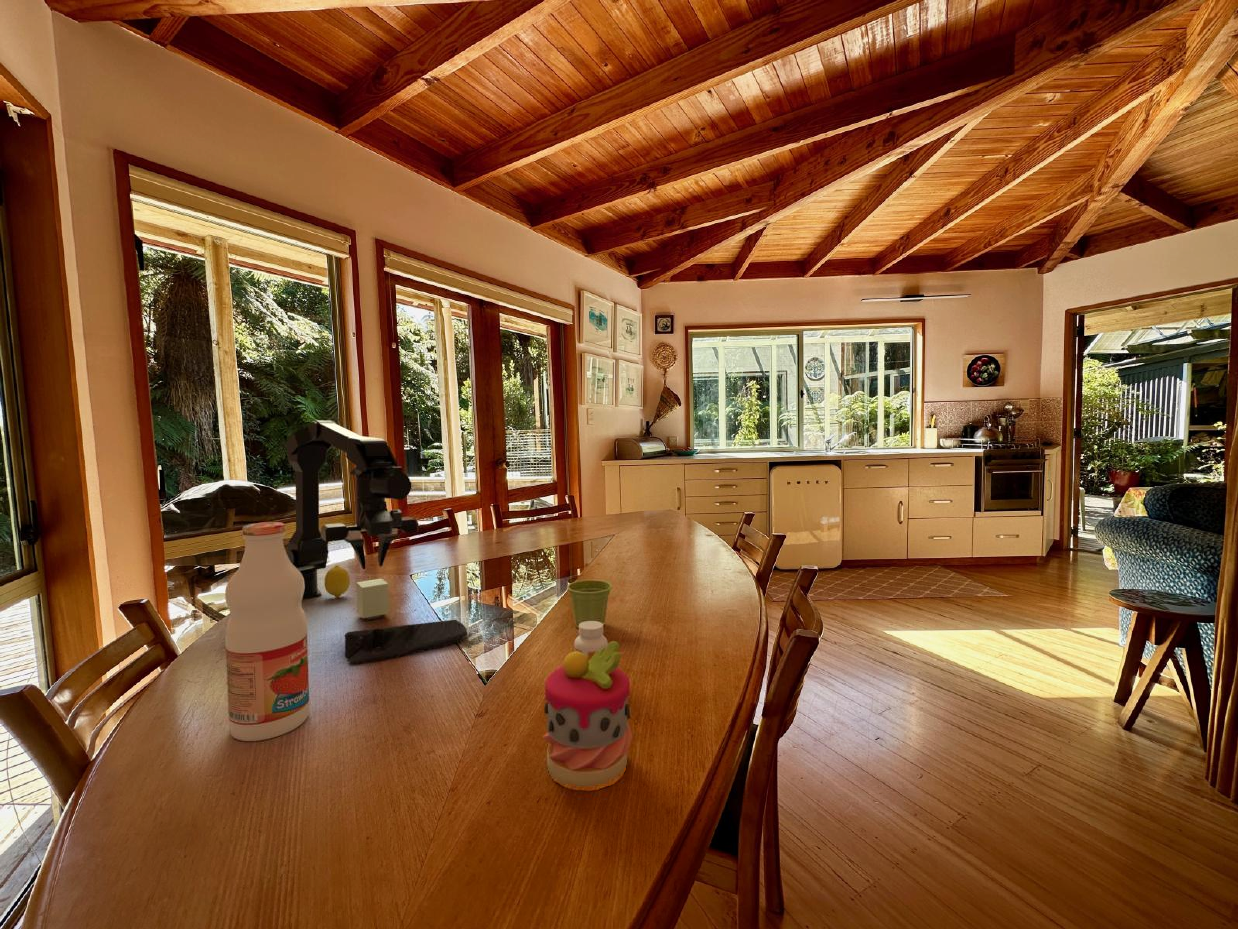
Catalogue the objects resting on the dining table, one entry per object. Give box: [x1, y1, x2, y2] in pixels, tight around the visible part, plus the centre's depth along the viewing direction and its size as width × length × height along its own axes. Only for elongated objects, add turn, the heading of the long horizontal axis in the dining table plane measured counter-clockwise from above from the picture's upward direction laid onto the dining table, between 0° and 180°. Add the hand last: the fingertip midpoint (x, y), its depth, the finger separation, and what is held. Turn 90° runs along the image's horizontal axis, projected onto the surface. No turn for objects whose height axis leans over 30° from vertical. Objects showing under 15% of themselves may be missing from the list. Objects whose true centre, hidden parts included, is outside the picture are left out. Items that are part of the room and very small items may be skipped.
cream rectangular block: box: [356, 578, 390, 619], centre depth 117 cm, size 5×5×7 cm
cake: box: [541, 640, 633, 787], centre depth 65 cm, size 10×11×15 cm
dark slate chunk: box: [344, 619, 468, 666], centre depth 104 cm, size 15×22×5 cm
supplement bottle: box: [573, 621, 609, 661], centre depth 87 cm, size 5×5×10 cm
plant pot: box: [567, 579, 613, 626], centre depth 113 cm, size 9×9×9 cm
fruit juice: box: [224, 521, 310, 742], centre depth 74 cm, size 9×9×28 cm
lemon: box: [324, 565, 351, 599], centre depth 131 cm, size 6×6×8 cm
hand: (372, 567), depth 117 cm, fingers open, 3 cm apart
